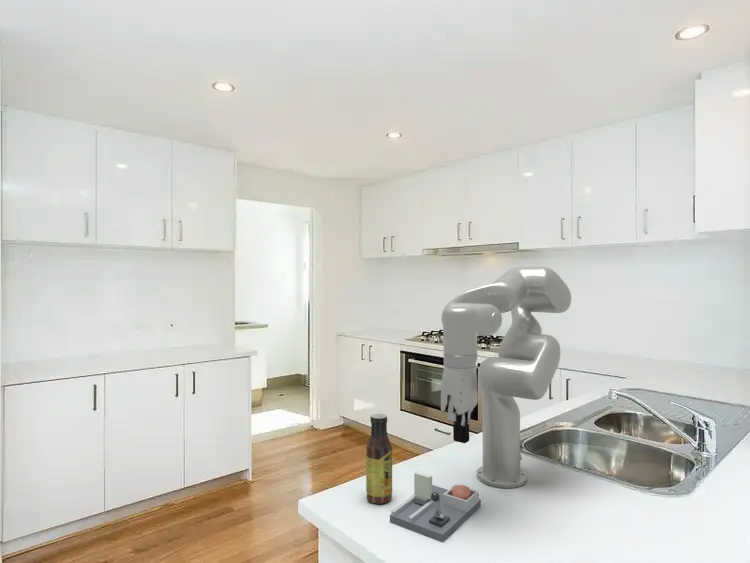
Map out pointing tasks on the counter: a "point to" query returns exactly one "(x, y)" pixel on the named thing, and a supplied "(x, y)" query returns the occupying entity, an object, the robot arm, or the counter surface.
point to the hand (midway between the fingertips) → (461, 441)
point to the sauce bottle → (379, 462)
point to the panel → (423, 515)
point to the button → (461, 492)
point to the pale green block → (422, 488)
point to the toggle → (437, 506)
